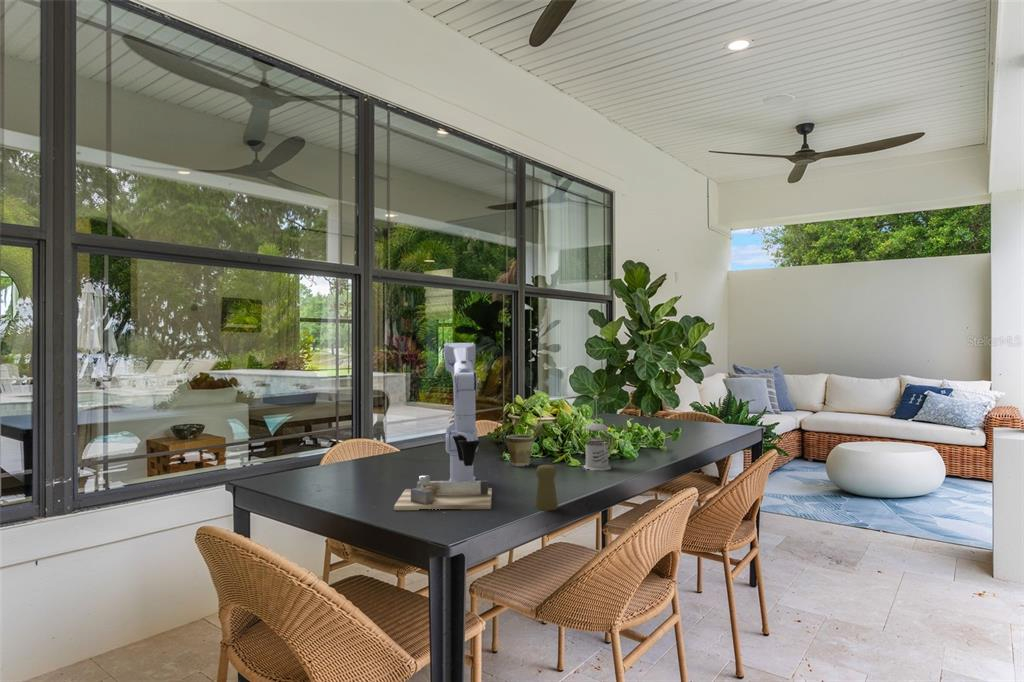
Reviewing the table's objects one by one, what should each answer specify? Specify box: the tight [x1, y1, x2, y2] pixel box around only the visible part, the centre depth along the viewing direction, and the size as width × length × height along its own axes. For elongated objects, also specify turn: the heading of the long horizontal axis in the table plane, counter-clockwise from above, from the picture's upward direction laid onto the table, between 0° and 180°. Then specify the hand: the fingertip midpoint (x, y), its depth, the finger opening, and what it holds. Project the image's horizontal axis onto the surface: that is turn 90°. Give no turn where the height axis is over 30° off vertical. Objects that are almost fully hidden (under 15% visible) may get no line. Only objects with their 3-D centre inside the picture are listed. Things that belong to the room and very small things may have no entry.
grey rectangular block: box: [410, 486, 433, 505], centre depth 160 cm, size 2×6×3 cm, turn 51°
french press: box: [582, 395, 614, 471], centre depth 210 cm, size 10×12×25 cm
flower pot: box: [505, 433, 535, 467], centre depth 217 cm, size 13×10×10 cm
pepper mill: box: [534, 464, 559, 511], centre depth 158 cm, size 6×6×11 cm
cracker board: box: [393, 487, 493, 511], centre depth 166 cm, size 18×25×1 cm
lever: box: [416, 474, 489, 494], centre depth 168 cm, size 20×3×5 cm, turn 91°
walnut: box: [425, 486, 437, 499], centre depth 162 cm, size 4×4×4 cm
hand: (465, 463), depth 171 cm, fingers open, 7 cm apart
